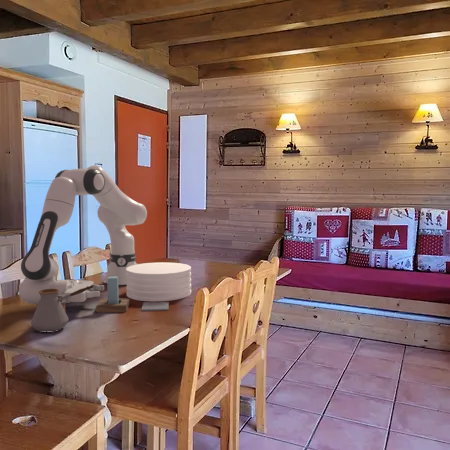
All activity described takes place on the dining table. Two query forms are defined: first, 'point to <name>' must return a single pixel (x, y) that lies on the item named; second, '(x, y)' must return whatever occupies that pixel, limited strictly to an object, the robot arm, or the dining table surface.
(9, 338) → the dining table surface
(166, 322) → the dining table surface
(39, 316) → the coffee pot
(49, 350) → the dining table surface
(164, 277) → the plate stack
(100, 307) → the holder
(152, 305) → the coaster
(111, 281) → the peg
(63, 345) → the dining table surface
